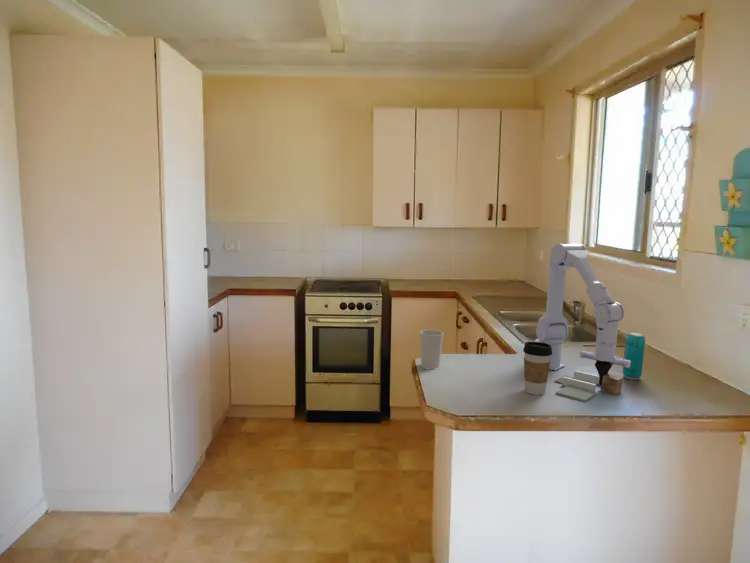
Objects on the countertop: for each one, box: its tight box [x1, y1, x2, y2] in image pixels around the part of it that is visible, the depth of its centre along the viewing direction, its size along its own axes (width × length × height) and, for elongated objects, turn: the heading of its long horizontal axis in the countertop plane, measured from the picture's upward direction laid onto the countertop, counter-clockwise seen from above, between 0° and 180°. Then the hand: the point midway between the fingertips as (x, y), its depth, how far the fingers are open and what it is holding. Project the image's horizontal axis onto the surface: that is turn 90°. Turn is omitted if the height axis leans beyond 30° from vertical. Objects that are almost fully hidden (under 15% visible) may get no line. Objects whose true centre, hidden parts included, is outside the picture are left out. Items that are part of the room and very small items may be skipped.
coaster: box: [555, 385, 598, 403], centre depth 163 cm, size 9×9×1 cm
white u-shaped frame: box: [554, 370, 600, 392], centre depth 172 cm, size 13×10×2 cm
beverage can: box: [622, 331, 646, 381], centre depth 178 cm, size 6×6×15 cm
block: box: [600, 371, 624, 396], centre depth 165 cm, size 4×4×5 cm
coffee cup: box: [522, 341, 552, 396], centre depth 163 cm, size 8×8×15 cm
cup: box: [419, 329, 444, 370], centre depth 185 cm, size 8×8×12 cm
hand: (602, 384), depth 167 cm, fingers closed, pressing on block
